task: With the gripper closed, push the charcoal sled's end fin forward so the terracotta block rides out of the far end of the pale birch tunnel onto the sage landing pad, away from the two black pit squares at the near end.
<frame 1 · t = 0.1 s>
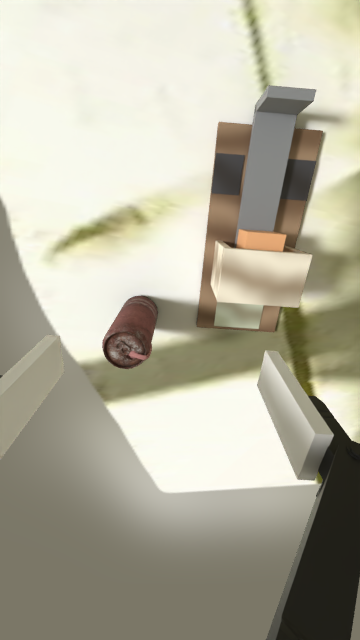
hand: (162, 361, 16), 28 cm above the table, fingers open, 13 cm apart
sled: (266, 195, 34), point 4 cm above the table, slide at 0.0 cm
can: (141, 311, 45), on the table
tunnel board: (249, 242, 40), on the table
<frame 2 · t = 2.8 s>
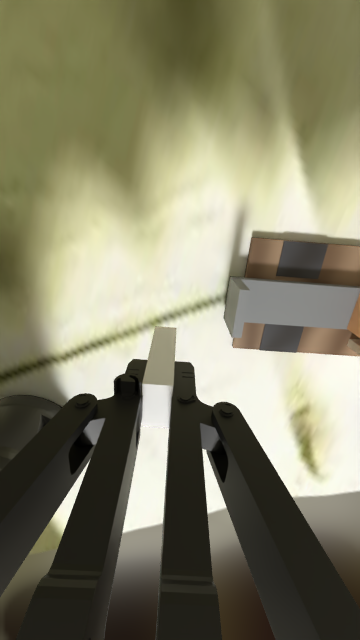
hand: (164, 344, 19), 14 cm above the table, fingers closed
sled: (326, 314, 28), point 4 cm above the table, slide at 0.0 cm
tunnel board: (358, 304, 32), on the table
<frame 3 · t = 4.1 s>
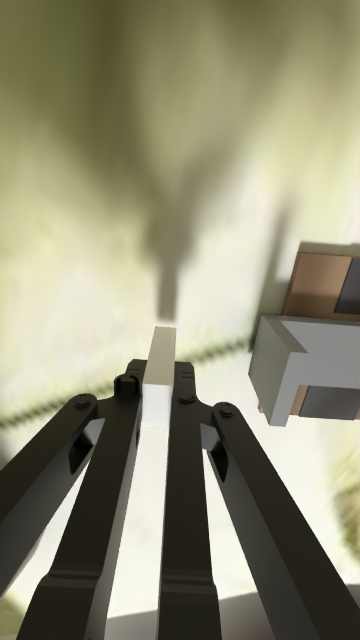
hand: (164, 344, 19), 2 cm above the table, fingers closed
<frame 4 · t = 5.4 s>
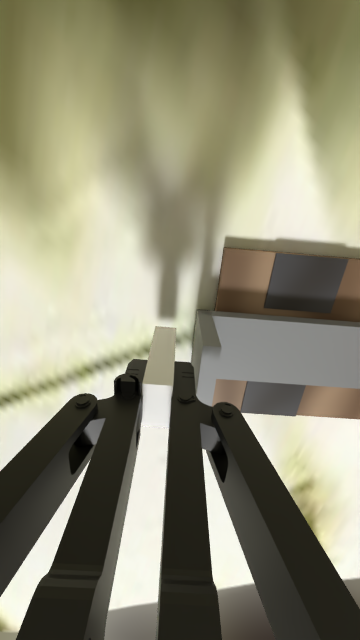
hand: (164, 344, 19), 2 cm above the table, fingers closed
sled: (353, 375, 17), point 4 cm above the table, slide at 0.5 cm, touching gripper
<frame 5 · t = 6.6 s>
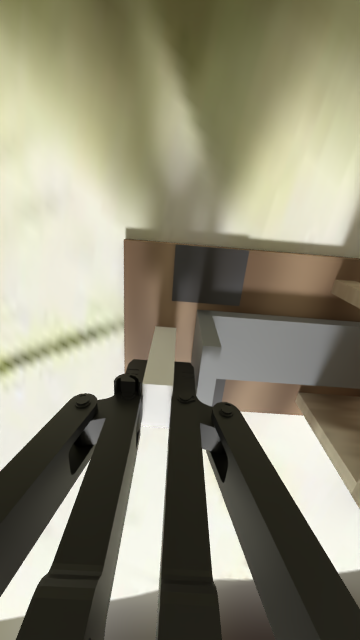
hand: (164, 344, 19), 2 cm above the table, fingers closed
sled: (353, 375, 17), point 4 cm above the table, slide at 7.4 cm, touching gripper
tunnel board: (309, 343, 21), on the table
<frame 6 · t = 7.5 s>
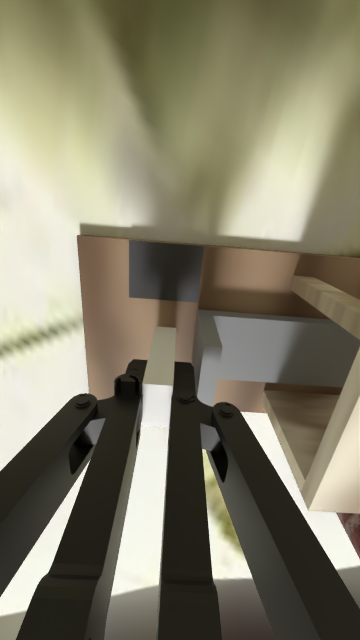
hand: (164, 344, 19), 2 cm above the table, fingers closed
sled: (355, 375, 17), point 4 cm above the table, slide at 10.5 cm, touching gripper
can: (355, 485, 28), on the table
tunnel board: (272, 340, 21), on the table
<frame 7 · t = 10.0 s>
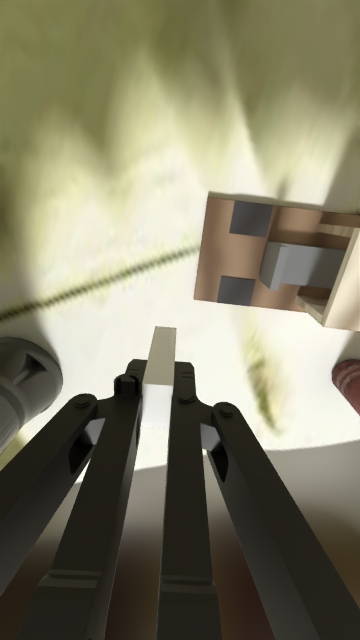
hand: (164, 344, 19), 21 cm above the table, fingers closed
sled: (351, 274, 32), point 4 cm above the table, slide at 10.8 cm
can: (348, 371, 44), on the table
tunnel board: (304, 264, 36), on the table
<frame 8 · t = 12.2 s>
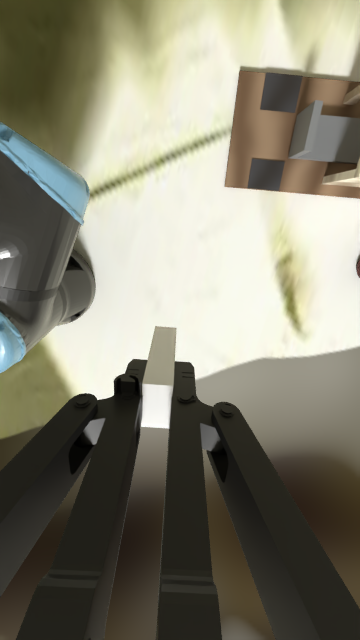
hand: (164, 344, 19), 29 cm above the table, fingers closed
tunnel board: (330, 143, 38), on the table
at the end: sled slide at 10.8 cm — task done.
